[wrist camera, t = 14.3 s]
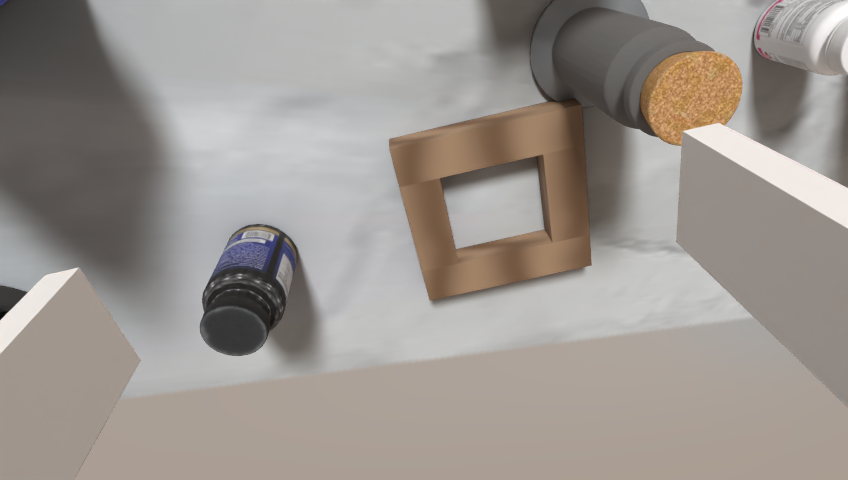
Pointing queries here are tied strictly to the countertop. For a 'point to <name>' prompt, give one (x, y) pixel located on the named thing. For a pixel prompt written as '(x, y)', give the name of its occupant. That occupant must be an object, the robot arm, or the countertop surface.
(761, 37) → the pill bottle
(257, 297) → the pill bottle
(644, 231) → the countertop surface
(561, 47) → the bottle
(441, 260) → the brown wooden square frame
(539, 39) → the coaster
